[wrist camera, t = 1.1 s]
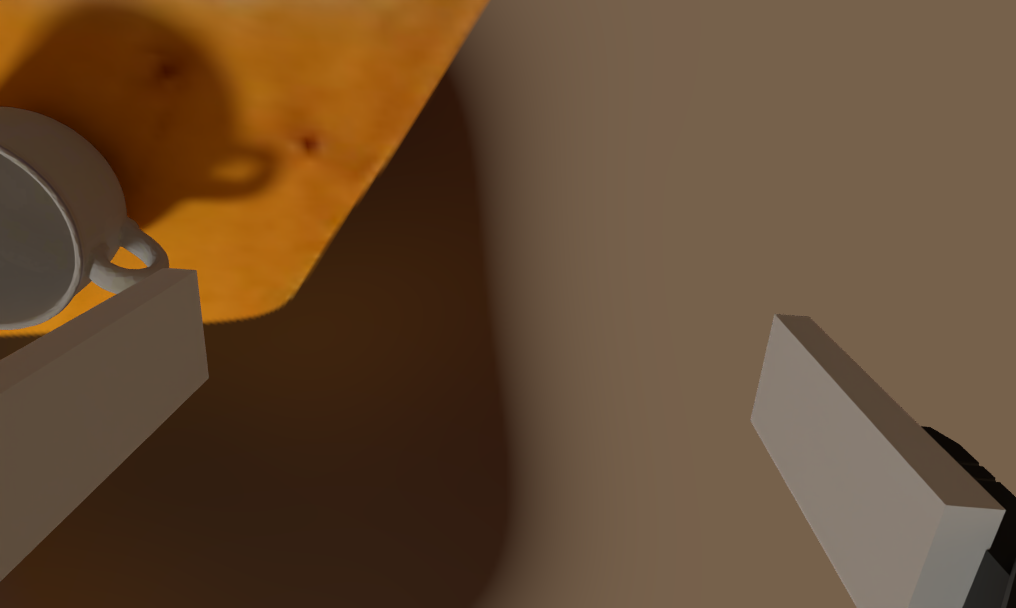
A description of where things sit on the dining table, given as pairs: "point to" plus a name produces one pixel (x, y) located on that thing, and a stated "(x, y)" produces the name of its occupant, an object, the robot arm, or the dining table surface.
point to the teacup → (60, 221)
